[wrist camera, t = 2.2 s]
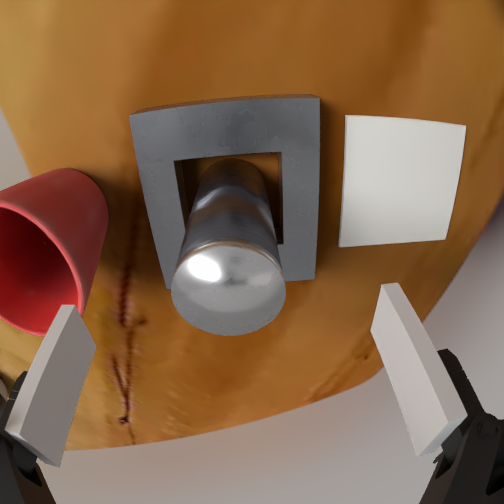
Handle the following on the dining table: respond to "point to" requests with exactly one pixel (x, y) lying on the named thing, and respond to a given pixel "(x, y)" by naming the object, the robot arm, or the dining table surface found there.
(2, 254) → the flower pot
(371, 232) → the pad
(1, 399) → the dark grey tapered piece
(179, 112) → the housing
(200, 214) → the metal cylinder
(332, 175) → the dining table surface
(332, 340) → the dining table surface
